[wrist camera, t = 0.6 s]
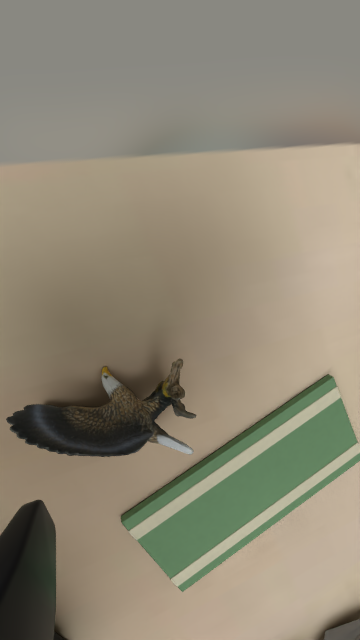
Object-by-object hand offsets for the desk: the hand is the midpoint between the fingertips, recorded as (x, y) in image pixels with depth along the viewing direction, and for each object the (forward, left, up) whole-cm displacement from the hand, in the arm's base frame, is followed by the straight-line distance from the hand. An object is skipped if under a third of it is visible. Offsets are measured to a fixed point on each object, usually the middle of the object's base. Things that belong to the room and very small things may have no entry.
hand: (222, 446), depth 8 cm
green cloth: (+1, -17, -13) cm, 22 cm away
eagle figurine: (-4, -3, -13) cm, 14 cm away
